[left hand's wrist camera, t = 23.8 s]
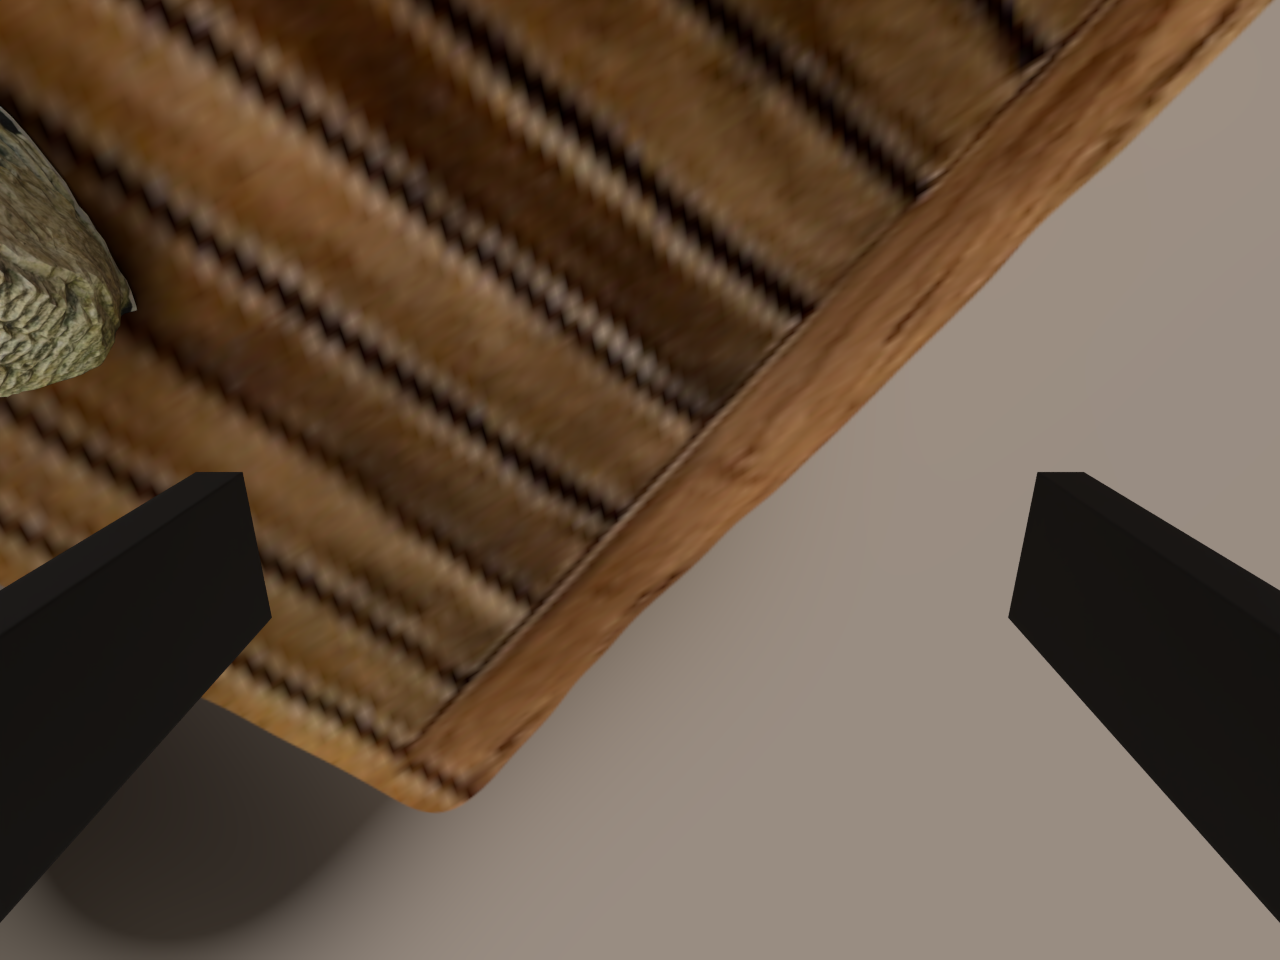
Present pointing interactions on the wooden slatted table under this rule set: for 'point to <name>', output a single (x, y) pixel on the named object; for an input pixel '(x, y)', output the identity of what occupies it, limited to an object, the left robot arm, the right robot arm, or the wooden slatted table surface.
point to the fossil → (50, 274)
